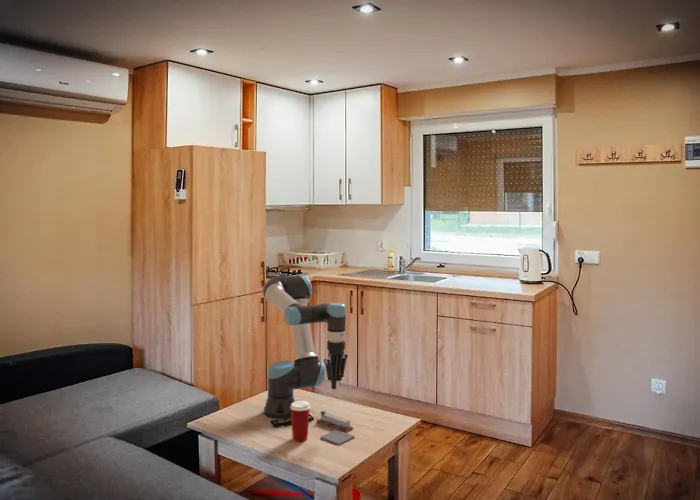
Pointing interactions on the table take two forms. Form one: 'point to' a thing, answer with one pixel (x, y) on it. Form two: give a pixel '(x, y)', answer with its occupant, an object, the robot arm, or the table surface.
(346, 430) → the base
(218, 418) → the table surface
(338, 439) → the slate pad
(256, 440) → the table surface
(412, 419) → the table surface
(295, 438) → the coffee cup
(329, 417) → the bar
